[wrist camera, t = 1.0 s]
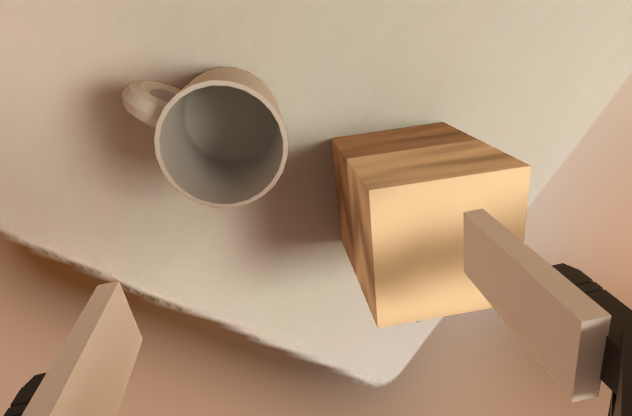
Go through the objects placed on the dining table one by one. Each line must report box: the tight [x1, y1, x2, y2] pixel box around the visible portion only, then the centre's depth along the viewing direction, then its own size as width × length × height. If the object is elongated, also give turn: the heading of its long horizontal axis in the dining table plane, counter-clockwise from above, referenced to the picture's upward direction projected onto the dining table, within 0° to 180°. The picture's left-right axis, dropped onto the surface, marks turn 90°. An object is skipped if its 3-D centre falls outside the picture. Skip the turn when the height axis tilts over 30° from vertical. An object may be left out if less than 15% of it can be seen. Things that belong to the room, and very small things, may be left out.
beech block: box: [347, 140, 531, 328], centre depth 28 cm, size 9×9×6 cm
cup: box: [122, 67, 288, 208], centre depth 28 cm, size 7×10×9 cm
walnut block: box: [331, 122, 478, 274], centre depth 33 cm, size 9×9×6 cm
